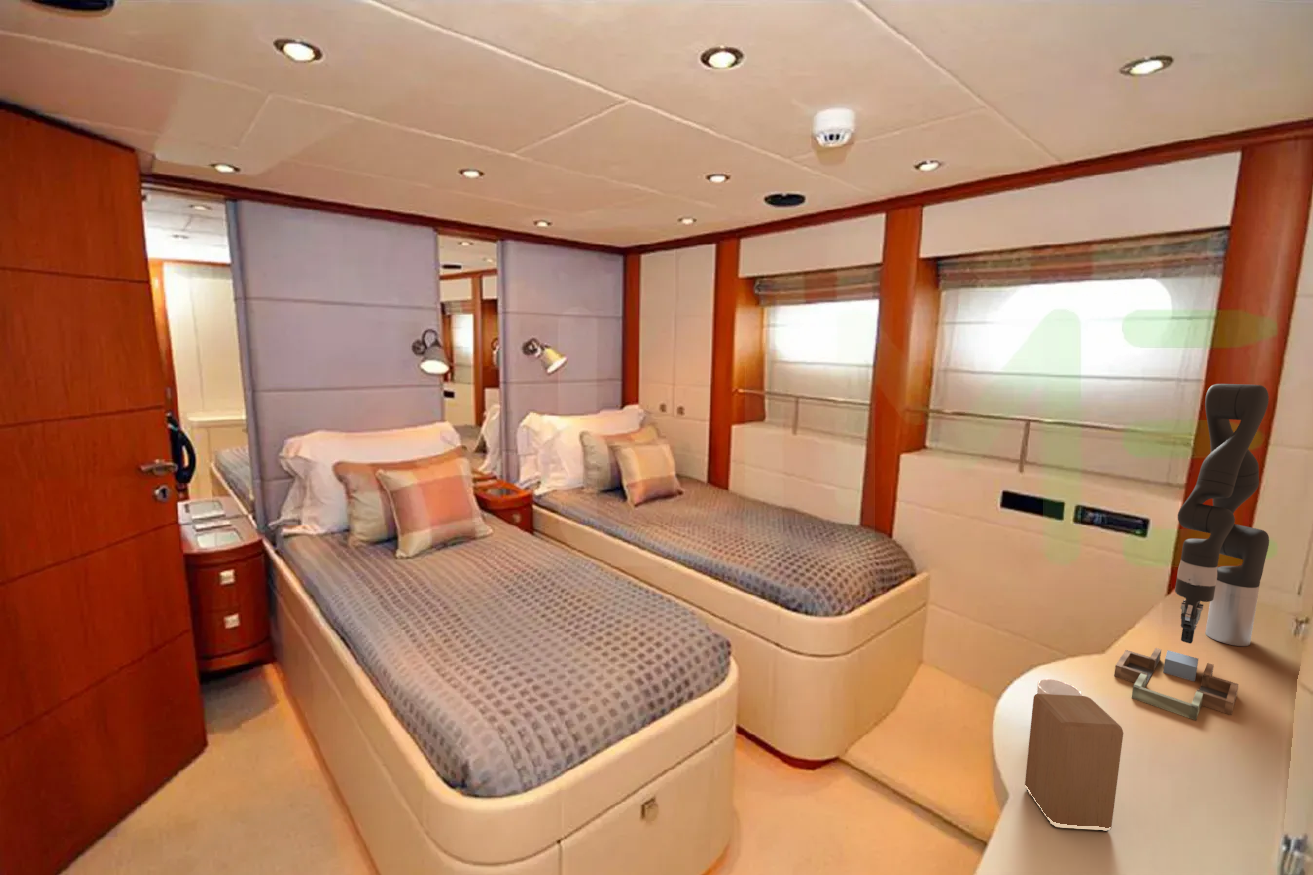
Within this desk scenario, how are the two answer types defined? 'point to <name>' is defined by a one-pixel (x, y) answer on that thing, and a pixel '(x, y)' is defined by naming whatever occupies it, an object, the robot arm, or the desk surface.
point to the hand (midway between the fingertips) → (1186, 641)
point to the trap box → (1210, 695)
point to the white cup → (1056, 688)
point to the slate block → (1180, 665)
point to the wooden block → (1073, 760)
